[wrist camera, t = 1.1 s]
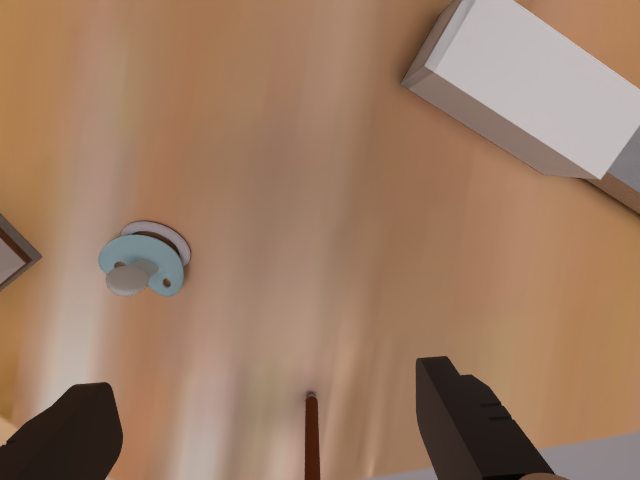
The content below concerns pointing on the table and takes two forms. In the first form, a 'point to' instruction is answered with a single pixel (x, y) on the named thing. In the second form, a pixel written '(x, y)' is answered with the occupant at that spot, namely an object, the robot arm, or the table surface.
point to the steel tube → (624, 175)
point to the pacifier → (144, 260)
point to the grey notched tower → (14, 253)
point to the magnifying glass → (312, 439)
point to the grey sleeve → (525, 88)
